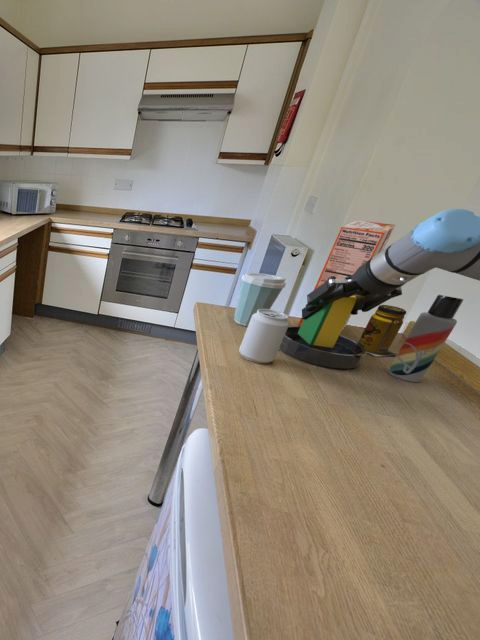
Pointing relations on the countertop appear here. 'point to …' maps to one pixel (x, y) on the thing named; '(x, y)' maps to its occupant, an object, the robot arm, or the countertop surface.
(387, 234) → the cereal box
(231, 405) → the countertop surface
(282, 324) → the can
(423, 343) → the striped water bottle
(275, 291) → the disposable coffee cup
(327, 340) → the sponge
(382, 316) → the condiment
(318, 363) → the bowl
